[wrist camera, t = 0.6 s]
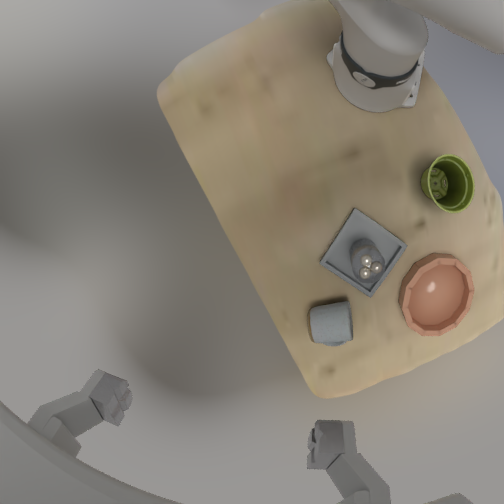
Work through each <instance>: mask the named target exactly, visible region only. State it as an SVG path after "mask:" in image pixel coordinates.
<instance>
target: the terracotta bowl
mask: <svg viewBox="0 0 504 504" xmlns="http://www.w3.org/2000/svg"><path fill="white" fill-rule="evenodd" d="M473 294H474V285H473V281H472V276H471V272H470V271H469V270H468V269H467V268H466V267H465V266H464V265H463V264H462V263H461V262H460V261H459V260H458V259H456V258H455V257H453V256H452V255H450V254H436V253H432V254H430V255H428V256H427V257H425V258H423V259H421V260H419V261H417V262H416V263H414V265H413V266H412V268H411V269H410V270H409V272H408V273H407V275H406V276H405V277H404V279H403V280H402V285H401V291H400V296H399V304H400V306H401V309H402V312H403V315H404V318H405V320H406V322H407V325H408V326H409V327H410V328H411V329H413V330H414V331H416V332H417V333H419V334H420V335H421V336H440V335H442V334H444V333H446V332H448V331H450V330H451V329H453V328H455V327H457V326H458V324H459V323H460V322H461V320H462V319H463V318H464V317H465V315H466V314H467V313H468V311H469V310H470V306H471V302H472V298H473Z"/></svg>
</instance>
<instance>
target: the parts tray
mask: <svg viewBox="0 0 504 504" xmlns="http://www.w3.org/2000/svg"><path fill="white" fill-rule="evenodd" d="M359 239H369V240H371V241H372V242H373V243H374V244H375V245H376V247H377V248H378V250H379V251H380V253H381V254H382V256H383V258H384V260H385V264H386V268H385V272H384V274H383V276H382V277H381V278H380V279H379V280H378V281H376V282H374V283H363V282H360V281H359V280H357V279H356V277H355V276H354V274H353V271H352V266H351V260H350V248H351V246H352V244H353V243H354V242H355V241H357V240H359ZM406 247H407V245H406V244H405V243H404V242H402V241H401V240H400V239H398V238H397V237H396V236H394V235H393V234H392V233H390V232H389V231H387V230H386V229H385V228H383V227H382V226H381V225H379V224H378V223H376V222H375V221H373V220H372V219H371V218H369V217H368V216H366V215H365V214H363V213H362V212H360V211H359V210H357V209H356V208H354V209H353V211H352V212H351V214H350V215H349V217H348V219H347V220H346V222H345V223H344V225H343V227H342V228H341V230H340V231H339V233H338V234H337V236H336V237H335V239H334V241H333V242H332V244H331V245H330V247H329V248H328V250H327V251H326V253H325V254H324V256H323V257H322V259H321V260H320V263H319V264H321V265H322V266H324V267H325V268H327V269H328V270H330V271H331V272H333V273H334V274H336V275H337V276H339V277H340V278H342V279H343V280H345V281H346V282H348V283H349V284H351V285H352V286H354V287H355V288H357V289H358V290H360V291H361V292H363V293H364V294H366V295H367V296H369V297H370V298H371V297H372V295H373V294H374V293H375V291H376V290H377V289H378V287H379V286H380V285H381V283H382V282H383V281H384V279H385V278H386V277H387V275H388V274H389V272H390V271H391V270H392V268H393V267H394V265H395V264H396V262H397V261H398V259H399V258H400V256H401V255H402V254H403V252H404V251H405V249H406Z"/></svg>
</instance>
